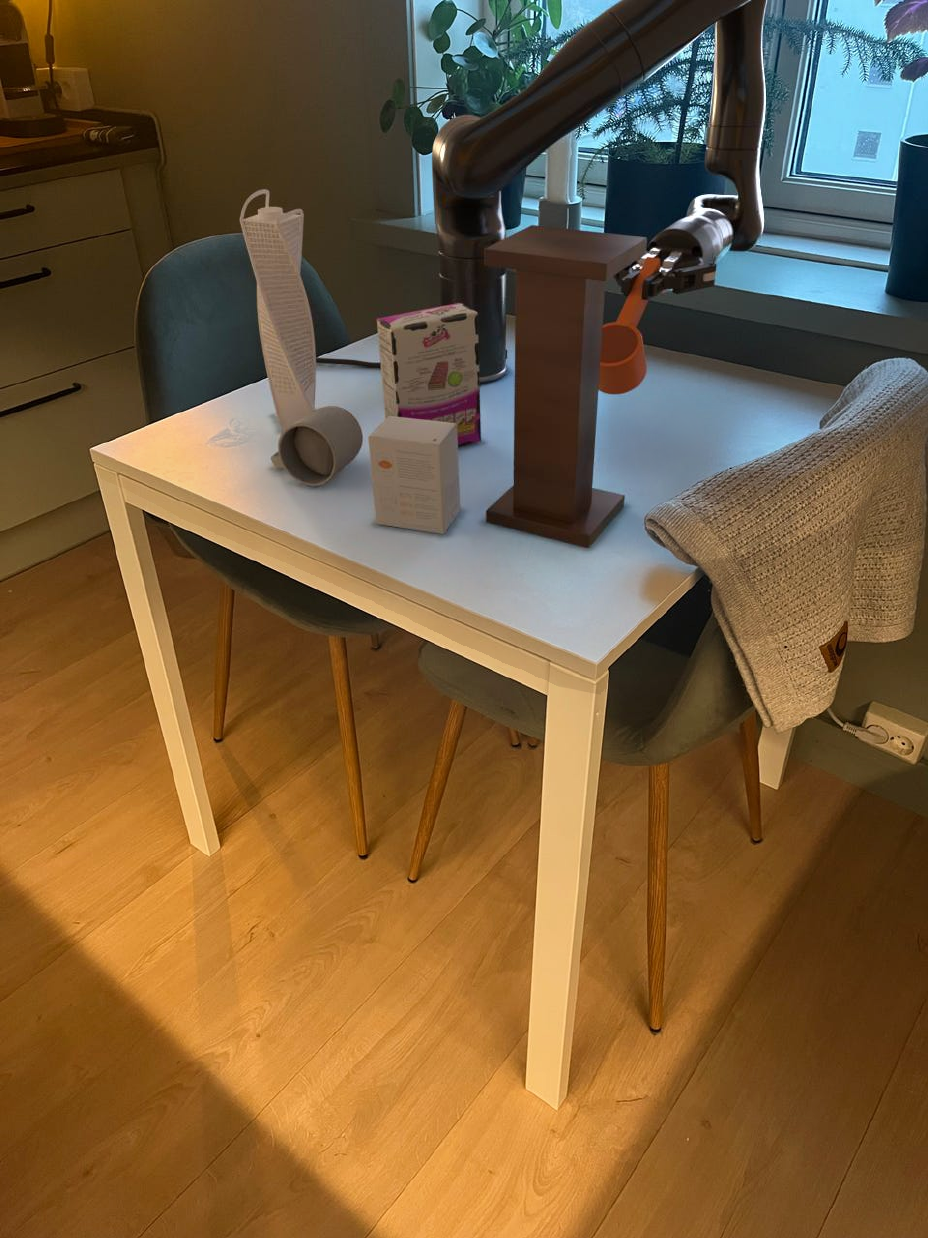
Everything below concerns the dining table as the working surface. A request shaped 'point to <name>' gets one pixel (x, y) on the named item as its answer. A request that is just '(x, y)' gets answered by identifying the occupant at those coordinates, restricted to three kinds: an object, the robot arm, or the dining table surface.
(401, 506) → the small box
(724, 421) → the dining table surface
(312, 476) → the ceramic mug
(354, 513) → the dining table surface
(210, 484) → the dining table surface
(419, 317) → the candy bar box
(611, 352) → the orange measuring cup
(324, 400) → the dining table surface
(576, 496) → the tall walnut stand
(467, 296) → the robot arm
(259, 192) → the skyscraper
